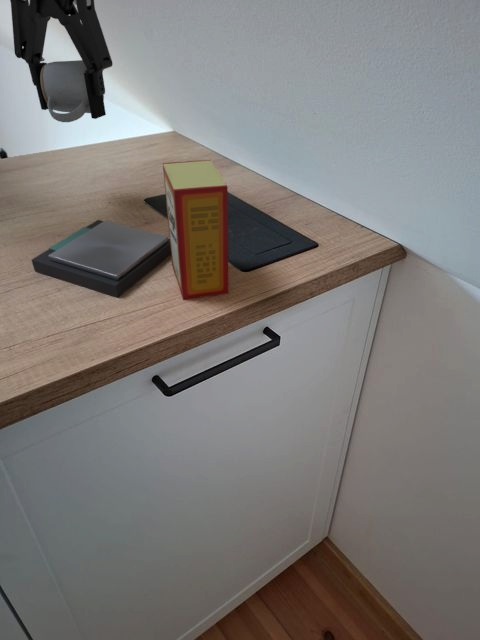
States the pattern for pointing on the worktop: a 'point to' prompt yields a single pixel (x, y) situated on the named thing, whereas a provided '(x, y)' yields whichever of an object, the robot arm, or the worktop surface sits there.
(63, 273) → the scale
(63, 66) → the ceramic mug
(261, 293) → the worktop surface
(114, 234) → the scale pan
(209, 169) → the baking soda box
